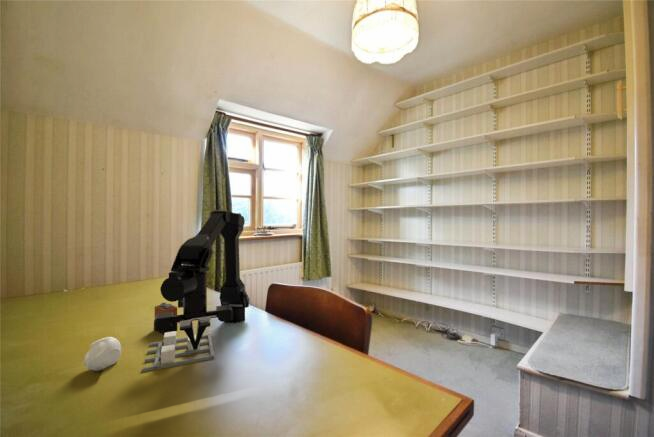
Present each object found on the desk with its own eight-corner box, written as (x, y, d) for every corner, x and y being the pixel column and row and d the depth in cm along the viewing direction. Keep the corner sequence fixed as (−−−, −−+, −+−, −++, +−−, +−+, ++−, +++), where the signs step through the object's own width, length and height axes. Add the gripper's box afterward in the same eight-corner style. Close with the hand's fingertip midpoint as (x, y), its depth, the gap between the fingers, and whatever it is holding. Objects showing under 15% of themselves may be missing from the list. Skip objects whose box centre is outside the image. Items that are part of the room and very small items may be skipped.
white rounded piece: (84, 366, 77) (84, 336, 77) (120, 358, 81) (120, 330, 81) (83, 380, 70) (83, 348, 70) (122, 370, 75) (122, 339, 75)
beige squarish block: (199, 345, 86) (199, 333, 86) (199, 351, 83) (199, 338, 83) (187, 347, 85) (187, 335, 85) (187, 353, 81) (187, 340, 81)
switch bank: (210, 339, 93) (210, 333, 93) (214, 363, 79) (214, 355, 79) (143, 350, 85) (143, 343, 85) (134, 378, 71) (134, 370, 71)
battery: (164, 338, 94) (164, 307, 94) (154, 333, 98) (153, 303, 98) (178, 334, 97) (177, 303, 97) (167, 329, 101) (167, 300, 101)
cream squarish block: (176, 342, 88) (176, 331, 88) (175, 347, 85) (175, 335, 85) (164, 344, 87) (164, 332, 87) (163, 349, 83) (163, 337, 83)
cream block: (175, 357, 79) (174, 344, 79) (174, 363, 76) (174, 350, 76) (162, 359, 78) (162, 346, 78) (160, 366, 74) (160, 352, 74)
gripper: (228, 281, 90) (228, 332, 91) (157, 287, 82) (158, 343, 83) (233, 289, 80) (233, 347, 80) (153, 297, 72) (153, 361, 73)
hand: (195, 348), depth 79 cm, fingers closed
